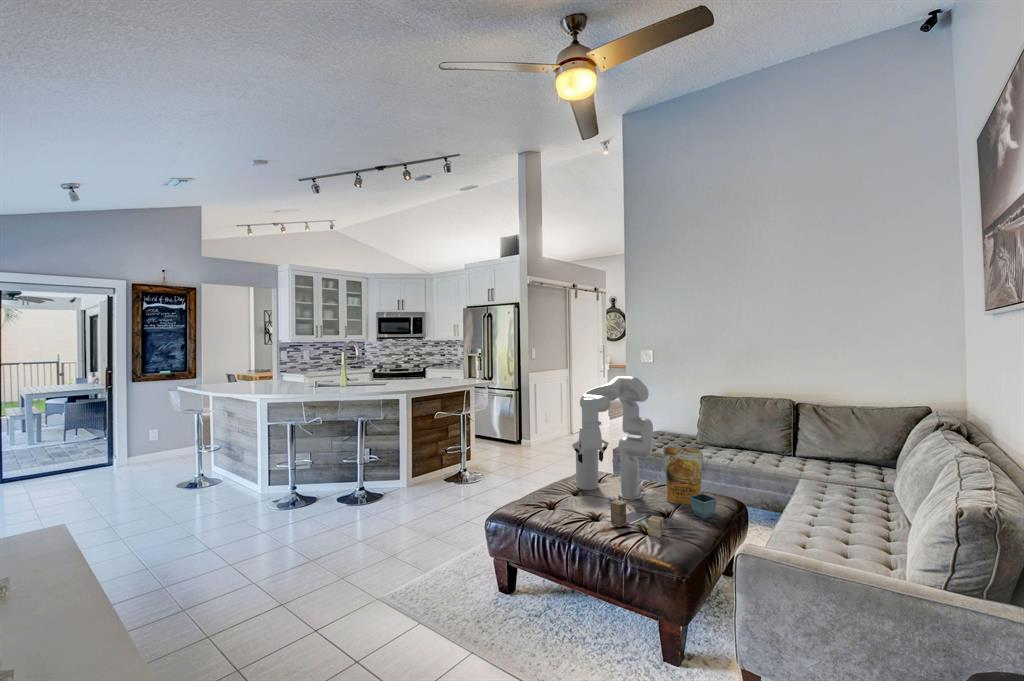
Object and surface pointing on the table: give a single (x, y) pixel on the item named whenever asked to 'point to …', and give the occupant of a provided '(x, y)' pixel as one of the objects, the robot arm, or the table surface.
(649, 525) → the oak block
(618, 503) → the walnut block
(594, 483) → the cylinder vase
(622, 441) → the robot arm
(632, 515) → the grey rectangular panel
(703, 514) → the flower pot
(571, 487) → the table surface
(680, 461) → the pancake mix bag
